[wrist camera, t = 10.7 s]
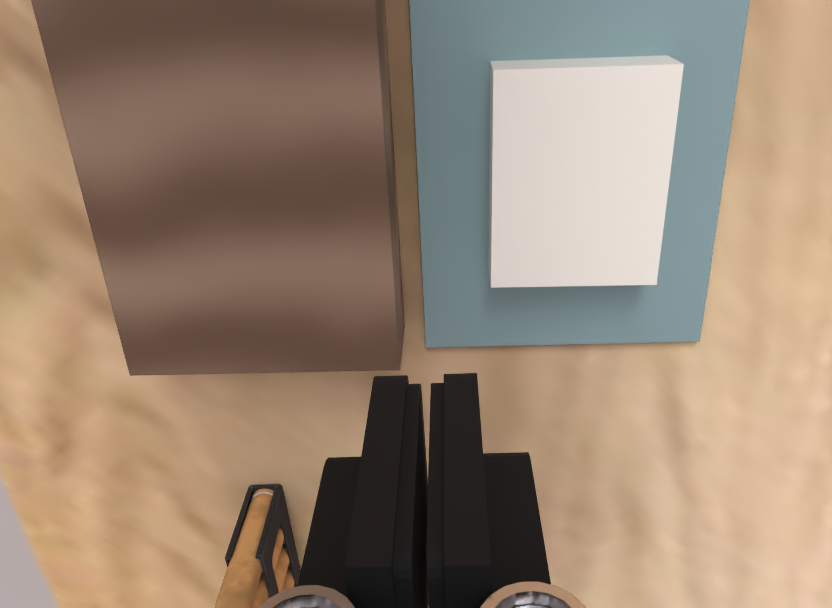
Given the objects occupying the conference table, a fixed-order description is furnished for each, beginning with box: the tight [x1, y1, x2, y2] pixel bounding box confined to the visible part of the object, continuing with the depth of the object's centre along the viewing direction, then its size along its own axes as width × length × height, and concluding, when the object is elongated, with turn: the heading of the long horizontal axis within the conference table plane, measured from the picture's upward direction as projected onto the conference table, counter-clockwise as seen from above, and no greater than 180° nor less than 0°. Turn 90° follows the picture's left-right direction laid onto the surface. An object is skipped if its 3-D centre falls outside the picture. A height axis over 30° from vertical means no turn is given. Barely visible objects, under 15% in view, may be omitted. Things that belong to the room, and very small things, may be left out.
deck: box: [31, 0, 405, 375], centre depth 30 cm, size 16×12×4 cm
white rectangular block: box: [488, 55, 684, 288], centre depth 30 cm, size 9×7×2 cm
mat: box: [409, 0, 750, 348], centre depth 31 cm, size 20×13×1 cm, turn 3°
